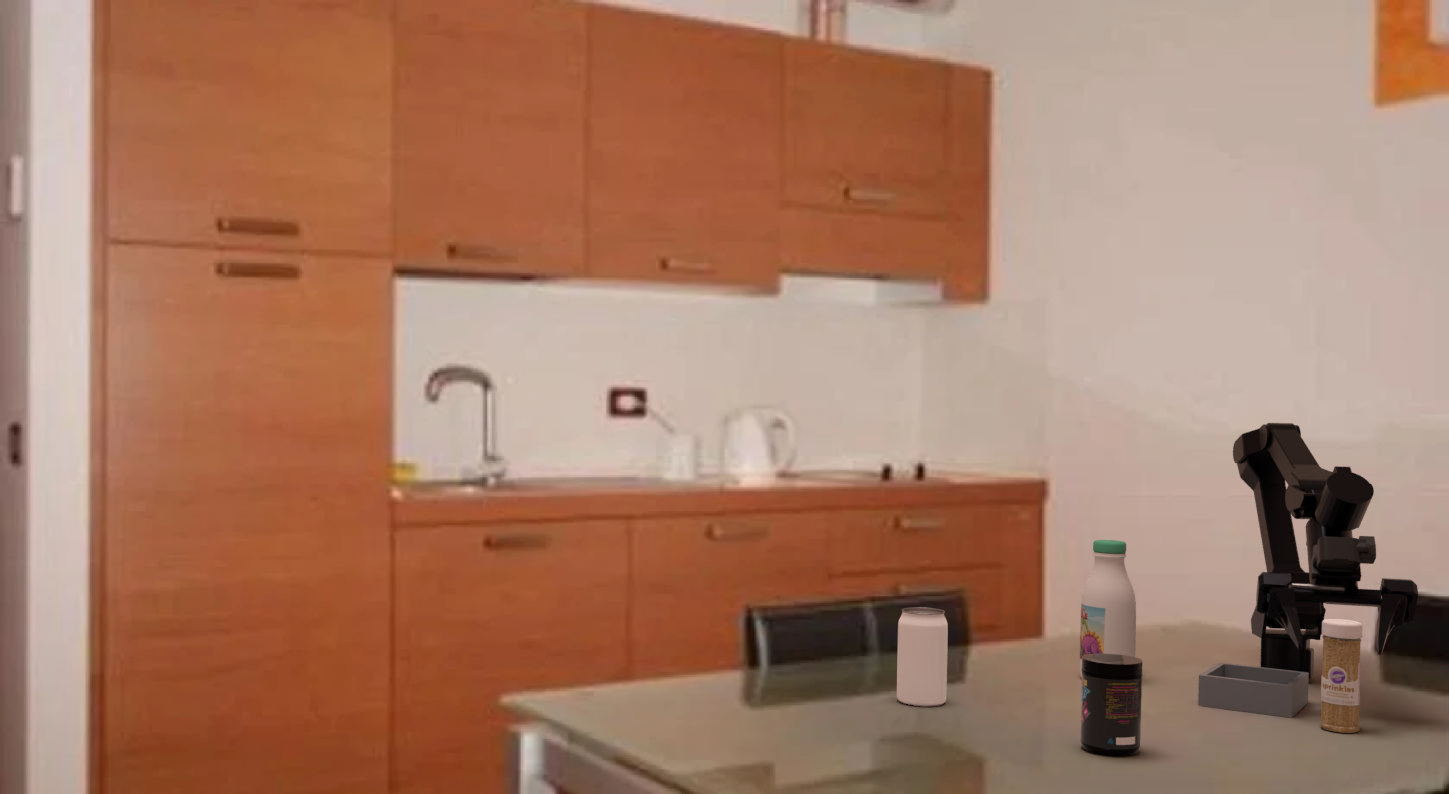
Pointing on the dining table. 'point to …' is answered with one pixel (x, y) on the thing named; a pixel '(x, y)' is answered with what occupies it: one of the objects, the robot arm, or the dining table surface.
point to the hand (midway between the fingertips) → (1339, 649)
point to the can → (922, 657)
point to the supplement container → (1111, 704)
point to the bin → (1253, 689)
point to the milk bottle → (1108, 604)
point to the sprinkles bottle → (1340, 675)
